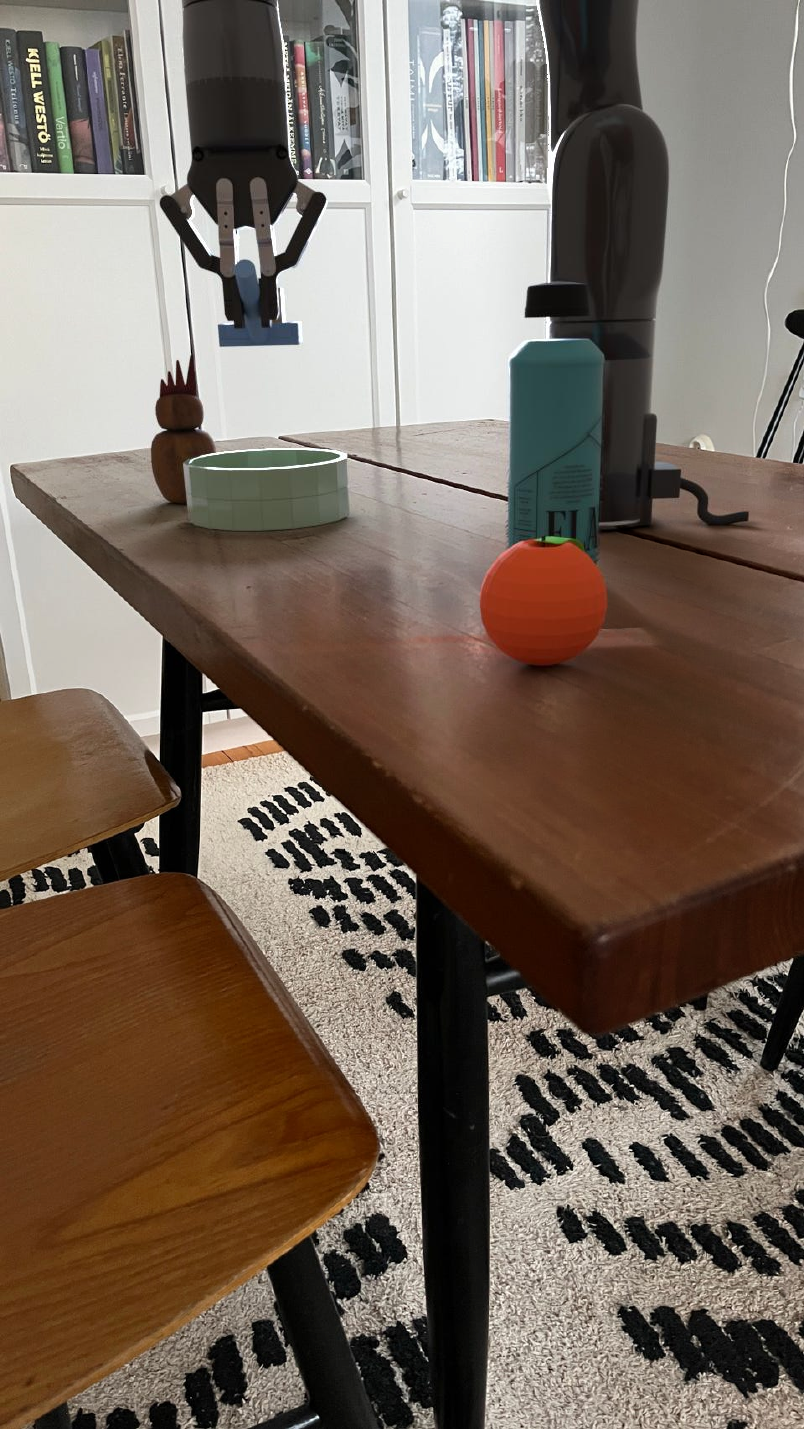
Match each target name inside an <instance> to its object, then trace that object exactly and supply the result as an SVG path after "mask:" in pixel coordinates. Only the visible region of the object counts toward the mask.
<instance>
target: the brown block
mask: <svg viewBox="0 0 804 1429" xmlns="http://www.w3.org/2000/svg"><path fill="white" fill-rule="evenodd" d="M278 299H279V316H278V319H277V320H272V323H285V322H286V310H285V294H284V288H282V287H278ZM244 317H245V315H244ZM245 324H246V319H245Z"/></svg>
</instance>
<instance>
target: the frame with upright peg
mask: <svg viewBox="0 0 804 1429" xmlns="http://www.w3.org/2000/svg"><path fill="white" fill-rule="evenodd" d="M234 271H235V275H236V280H237V284H238V289H239V293H240V297H241V301H242V306H243V310H244V315H245V319H246V324H245V328H244V329H235V328H234V322H232V323H219V324H217V332H218V333H217V334H218V345H219V347H220V348H228V347H229V348H230V347H231V348H233V347H265V346H267V347H269V346H271V347H272V346H299V345H301V344H302V343H303V342H304V341H303V340H304V339H303V322H302V321H285V323H272V328H262V325H261V312H260V298H259V295H260V289H259V284H258V275H257V269H256V266H255V264H254V263H253V262H252V261H251V260H249V259H246V258H243V259H240V260H239V261H238V262H237V263H236V265H235V268H234Z"/></svg>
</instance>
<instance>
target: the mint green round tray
mask: <svg viewBox="0 0 804 1429" xmlns="http://www.w3.org/2000/svg"><path fill="white" fill-rule="evenodd" d="M183 468H184V478H185V488H186V498H187V504H186V506H187V516H188V521H189V522H190V523H191V524H192V525H193V526H195V527H200V528H205V529H209V530H218V531H231V532H266V531H267V532H269V531H281V530H282V531H283V530H295V529H303V528H310V527H311V528H312V527H317V526H322V525H326V524H331V523H335V522H339V521H341V520H342V519H345V518H347V517H349V516H350V496H349V495H350V493H349V473H348V472H349V471H348V470H349V468H348V454H347V453H344V452H341V451H337V450H330V449H322V448H321V449H320V448H294V447H293V448H261V449H260V448H258V449H245V450H244V449H243V450H234V451H233V450H232V451H223V452H216V453H215V454H208V455H202V456H198V457H194V458H191V459H187V460H186V461H185V462H184V463H183Z"/></svg>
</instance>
